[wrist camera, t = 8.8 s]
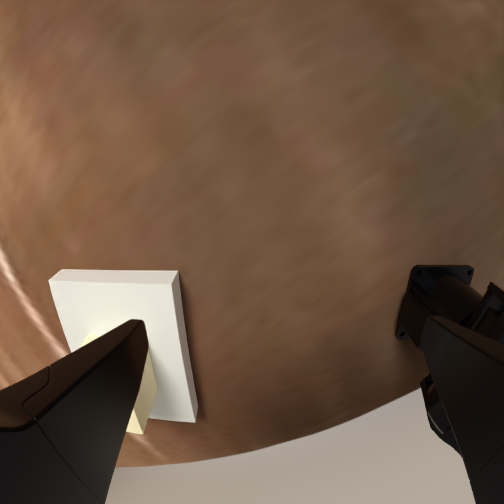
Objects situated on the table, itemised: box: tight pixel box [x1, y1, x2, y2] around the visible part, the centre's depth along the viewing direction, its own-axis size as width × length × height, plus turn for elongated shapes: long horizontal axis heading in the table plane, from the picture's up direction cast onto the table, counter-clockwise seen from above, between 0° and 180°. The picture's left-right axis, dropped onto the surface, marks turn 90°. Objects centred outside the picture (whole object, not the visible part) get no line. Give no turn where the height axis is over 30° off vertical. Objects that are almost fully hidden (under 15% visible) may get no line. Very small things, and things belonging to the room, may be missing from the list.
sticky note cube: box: [78, 334, 158, 434], centre depth 19 cm, size 5×5×5 cm
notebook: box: [48, 269, 198, 422], centre depth 23 cm, size 10×14×2 cm
